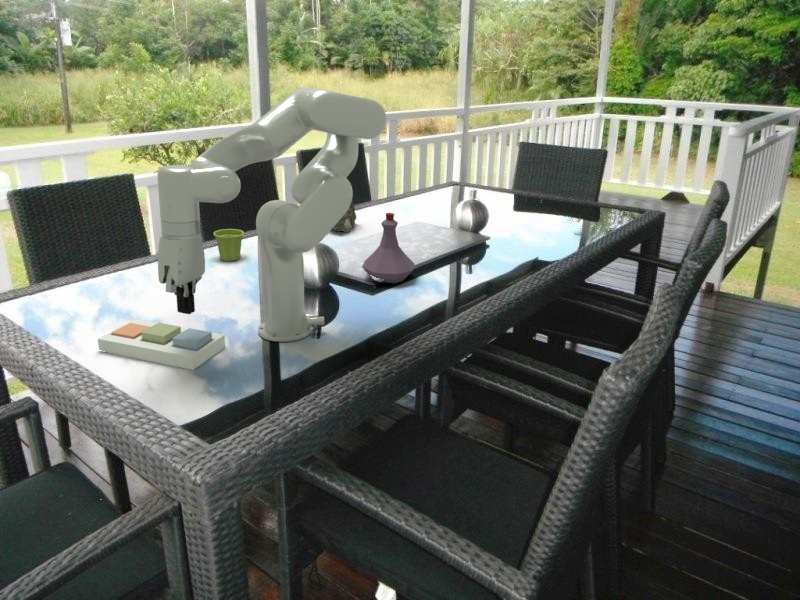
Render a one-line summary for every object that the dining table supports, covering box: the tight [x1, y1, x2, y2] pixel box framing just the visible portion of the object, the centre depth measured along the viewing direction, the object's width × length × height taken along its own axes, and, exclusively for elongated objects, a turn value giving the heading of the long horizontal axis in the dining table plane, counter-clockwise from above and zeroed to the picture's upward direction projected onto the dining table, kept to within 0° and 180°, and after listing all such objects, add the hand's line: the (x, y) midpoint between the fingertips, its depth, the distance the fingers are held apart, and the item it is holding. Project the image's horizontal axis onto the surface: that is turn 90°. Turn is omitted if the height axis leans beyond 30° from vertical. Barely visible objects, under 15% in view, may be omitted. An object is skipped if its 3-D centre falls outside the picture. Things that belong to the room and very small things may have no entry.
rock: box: [332, 200, 357, 233], centre depth 239 cm, size 18×14×15 cm
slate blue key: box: [172, 327, 213, 351], centre depth 136 cm, size 6×6×2 cm
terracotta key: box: [112, 322, 150, 339], centre depth 141 cm, size 6×6×2 cm
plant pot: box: [213, 228, 245, 262], centre depth 201 cm, size 9×9×9 cm
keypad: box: [97, 318, 226, 371], centre depth 139 cm, size 24×12×3 cm, turn 72°
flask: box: [361, 212, 415, 285], centre depth 186 cm, size 16×16×20 cm
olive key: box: [141, 322, 182, 345], centre depth 139 cm, size 6×6×2 cm
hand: (186, 311), depth 134 cm, fingers closed
